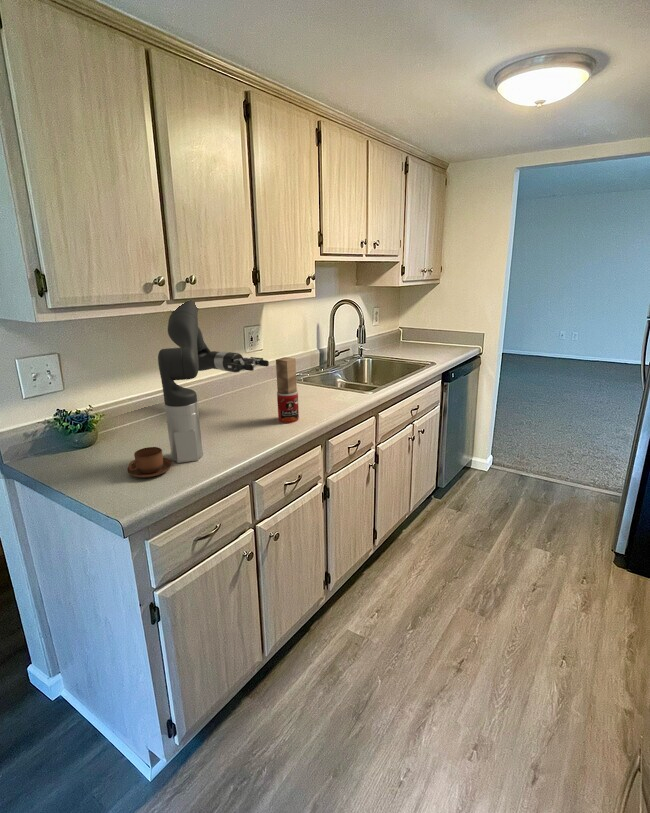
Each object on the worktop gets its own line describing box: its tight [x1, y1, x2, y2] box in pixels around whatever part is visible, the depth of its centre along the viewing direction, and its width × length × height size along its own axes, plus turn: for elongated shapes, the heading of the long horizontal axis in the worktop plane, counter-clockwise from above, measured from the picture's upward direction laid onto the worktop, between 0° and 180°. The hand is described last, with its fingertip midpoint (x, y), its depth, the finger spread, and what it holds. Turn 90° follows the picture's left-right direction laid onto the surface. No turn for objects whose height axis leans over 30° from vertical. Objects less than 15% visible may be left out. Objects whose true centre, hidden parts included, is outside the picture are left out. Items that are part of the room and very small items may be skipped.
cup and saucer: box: [126, 446, 173, 479], centre depth 132 cm, size 12×12×6 cm
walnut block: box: [275, 356, 298, 394], centre depth 169 cm, size 5×5×12 cm
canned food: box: [276, 390, 300, 424], centre depth 172 cm, size 8×8×11 cm
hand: (260, 365), depth 173 cm, fingers open, 8 cm apart
